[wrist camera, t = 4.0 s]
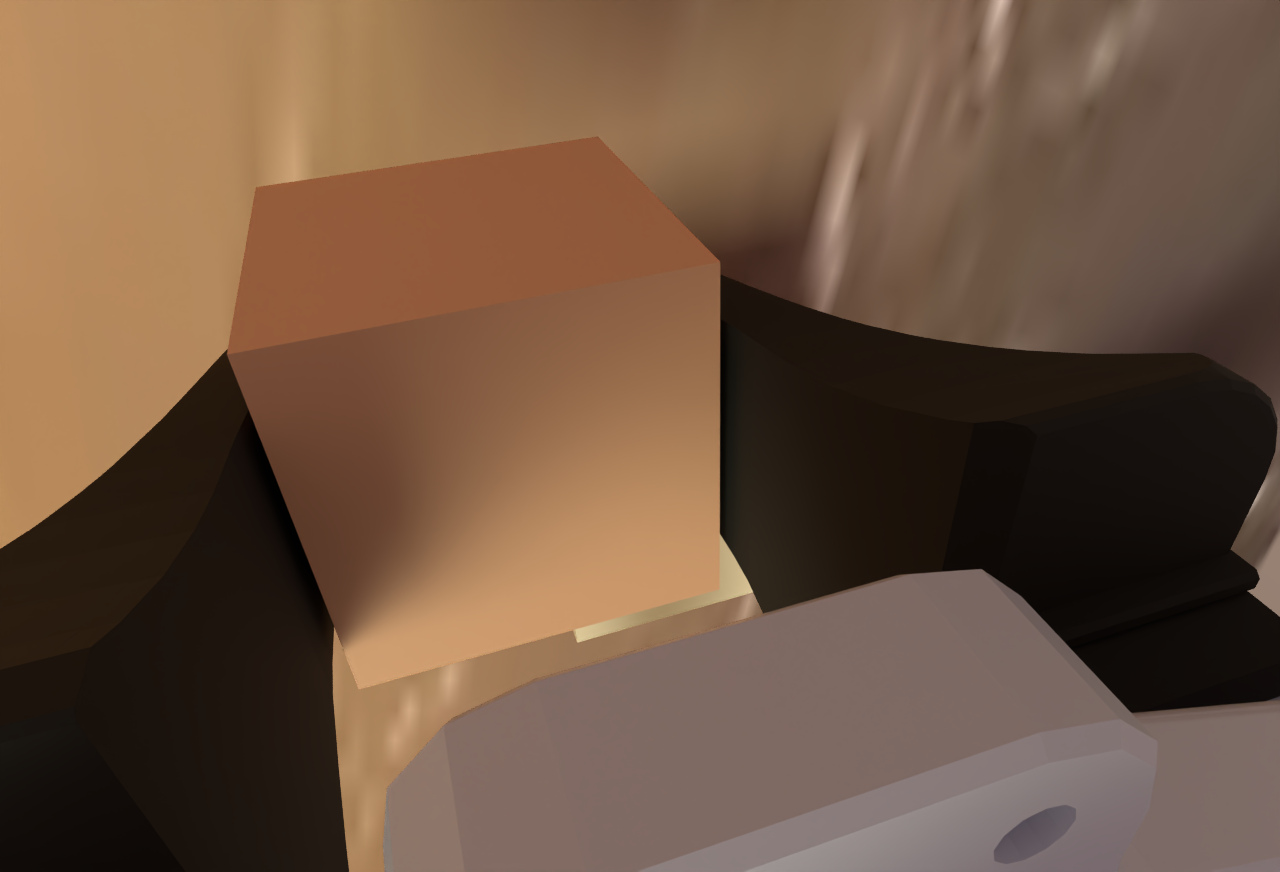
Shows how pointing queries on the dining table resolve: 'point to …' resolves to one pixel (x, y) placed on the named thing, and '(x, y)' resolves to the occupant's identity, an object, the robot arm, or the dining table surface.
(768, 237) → the dining table surface
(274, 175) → the dining table surface
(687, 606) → the top block
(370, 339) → the cube
